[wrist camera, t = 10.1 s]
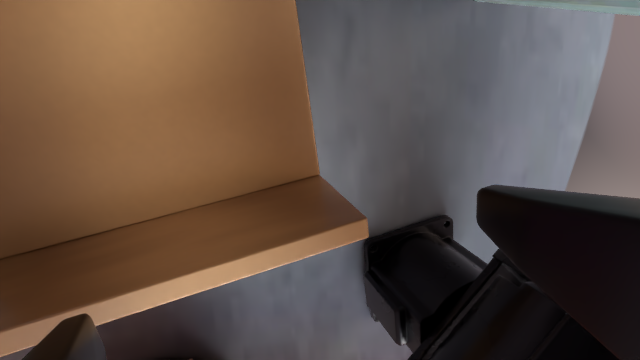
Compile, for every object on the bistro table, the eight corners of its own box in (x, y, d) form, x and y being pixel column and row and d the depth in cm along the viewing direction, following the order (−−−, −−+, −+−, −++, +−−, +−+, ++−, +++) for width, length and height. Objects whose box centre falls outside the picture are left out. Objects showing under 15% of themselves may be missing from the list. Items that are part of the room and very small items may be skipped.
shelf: (252, -67, 18) (333, -152, 9) (290, 159, 22) (369, 238, 14) (-385, -15, 12) (-1545, -113, 4) (-170, 274, 16) (-509, 523, 8)
